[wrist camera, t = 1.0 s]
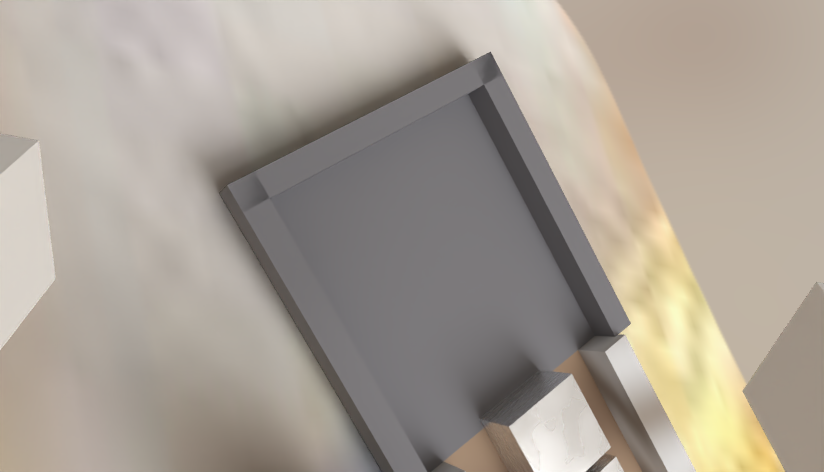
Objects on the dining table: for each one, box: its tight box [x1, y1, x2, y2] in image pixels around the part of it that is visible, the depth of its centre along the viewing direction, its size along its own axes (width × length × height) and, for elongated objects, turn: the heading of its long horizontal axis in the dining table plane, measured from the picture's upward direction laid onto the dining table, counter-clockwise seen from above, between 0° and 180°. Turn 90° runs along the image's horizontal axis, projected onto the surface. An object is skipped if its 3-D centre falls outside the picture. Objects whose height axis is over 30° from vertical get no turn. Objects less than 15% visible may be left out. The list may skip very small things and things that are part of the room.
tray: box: [219, 52, 631, 472], centre depth 30 cm, size 15×14×2 cm
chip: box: [479, 370, 611, 472], centre depth 30 cm, size 4×4×2 cm
